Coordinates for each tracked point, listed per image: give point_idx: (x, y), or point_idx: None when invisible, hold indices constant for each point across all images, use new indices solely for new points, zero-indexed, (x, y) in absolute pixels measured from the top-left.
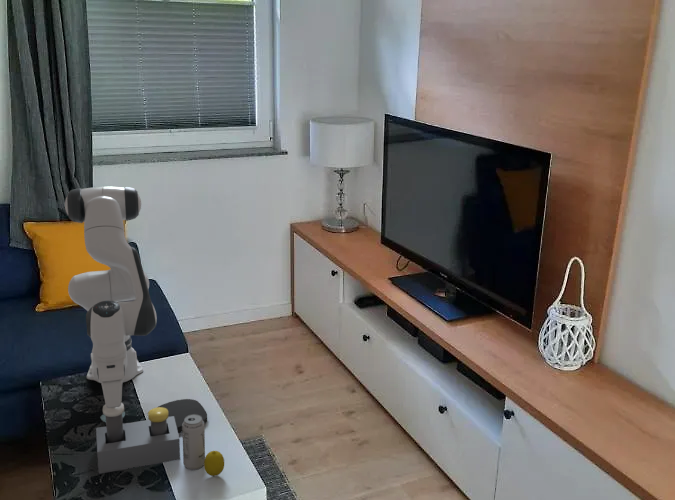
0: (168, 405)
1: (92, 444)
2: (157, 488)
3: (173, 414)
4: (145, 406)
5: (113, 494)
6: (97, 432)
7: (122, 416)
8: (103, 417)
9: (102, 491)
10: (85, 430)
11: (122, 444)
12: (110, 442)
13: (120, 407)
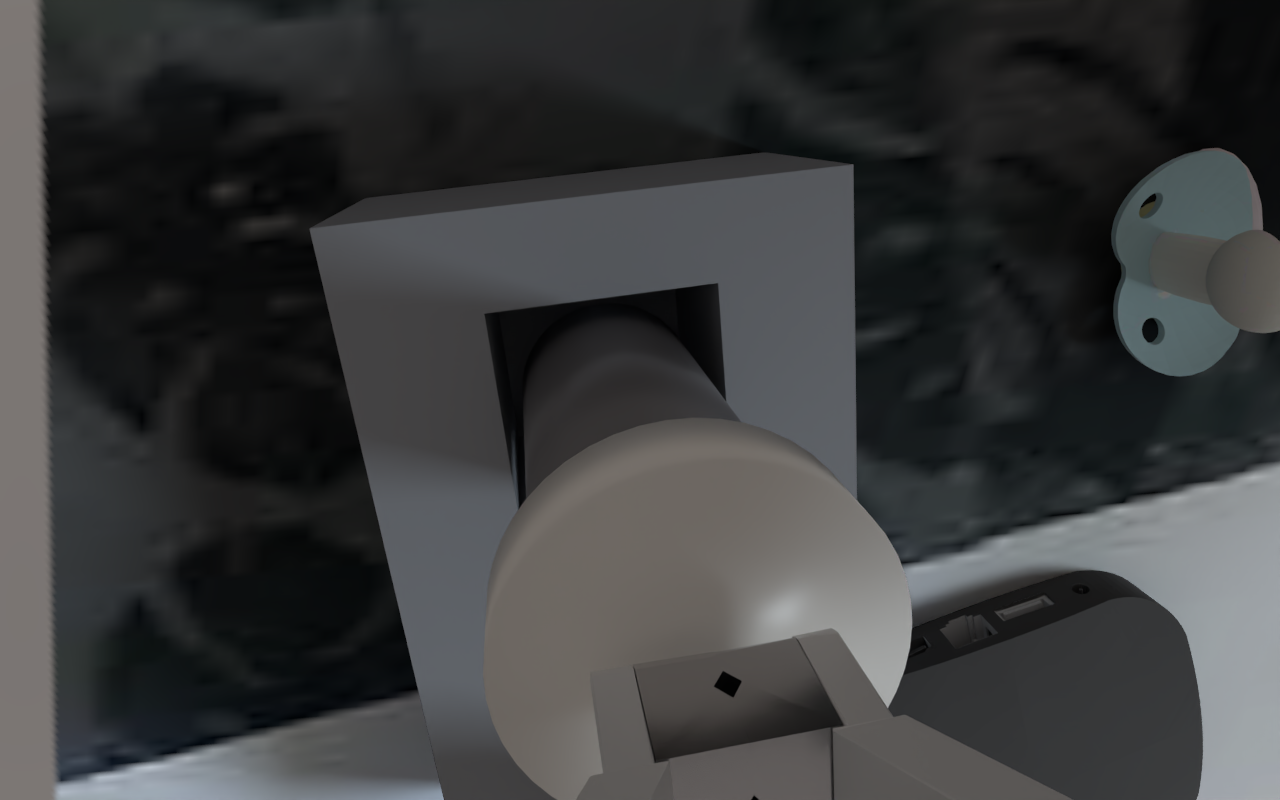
0: (1155, 700)
1: (843, 95)
2: (132, 673)
3: (1012, 749)
4: (1254, 496)
5: (46, 353)
6: (747, 191)
7: (1156, 348)
8: (1205, 175)
9: (90, 253)
10: (1091, 4)
11: (447, 497)
12: (537, 355)
13: None
